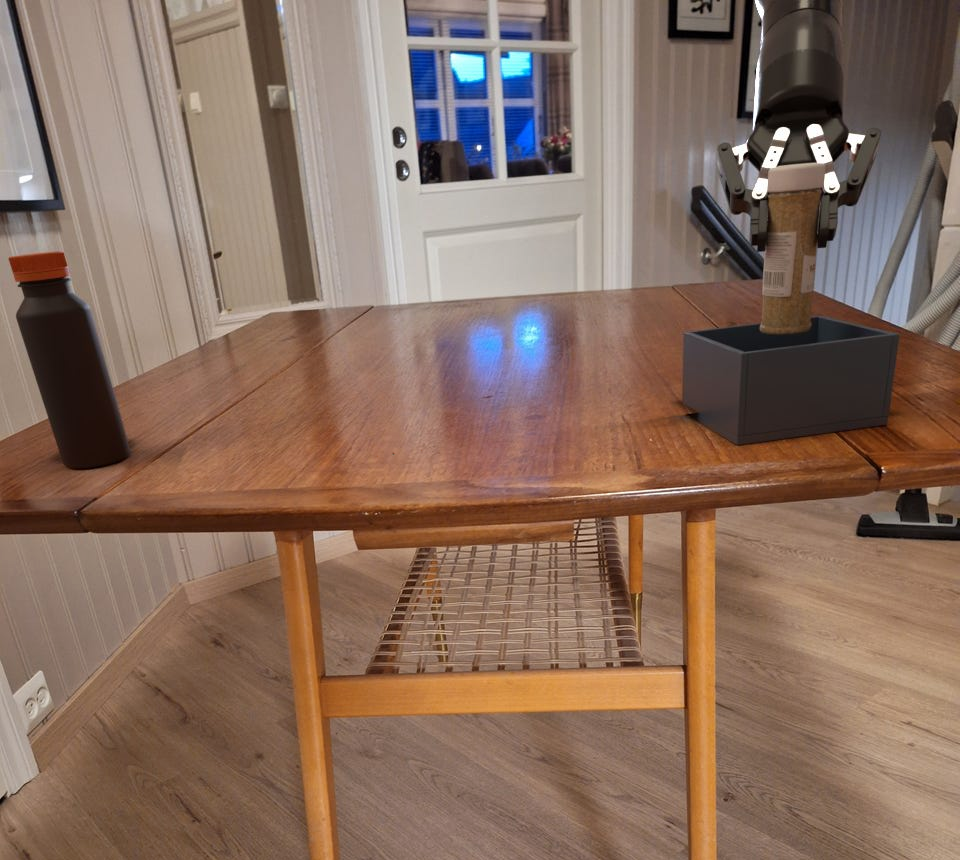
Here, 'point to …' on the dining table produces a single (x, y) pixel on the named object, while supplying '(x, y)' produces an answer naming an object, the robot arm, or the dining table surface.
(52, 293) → the vinegar
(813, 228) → the sprinkles bottle
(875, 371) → the open storage bin
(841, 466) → the dining table surface
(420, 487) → the dining table surface
